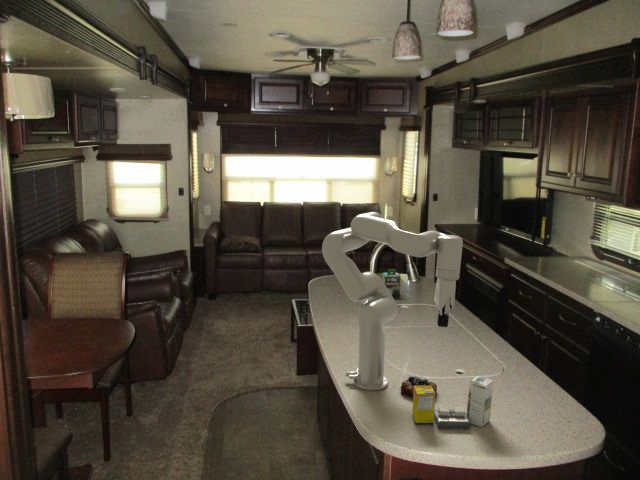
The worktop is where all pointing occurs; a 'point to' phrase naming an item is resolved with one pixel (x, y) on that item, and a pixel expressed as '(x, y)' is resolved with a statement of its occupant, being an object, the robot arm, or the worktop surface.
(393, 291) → the chalk box
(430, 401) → the supplement box
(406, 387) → the pastry
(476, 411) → the syrup box
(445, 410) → the breaker paddles
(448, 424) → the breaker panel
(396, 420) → the worktop surface
